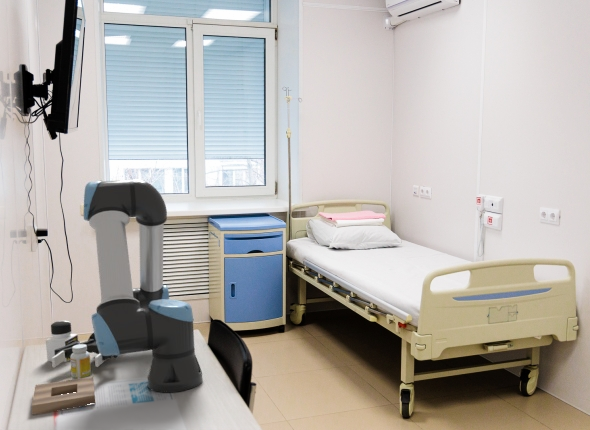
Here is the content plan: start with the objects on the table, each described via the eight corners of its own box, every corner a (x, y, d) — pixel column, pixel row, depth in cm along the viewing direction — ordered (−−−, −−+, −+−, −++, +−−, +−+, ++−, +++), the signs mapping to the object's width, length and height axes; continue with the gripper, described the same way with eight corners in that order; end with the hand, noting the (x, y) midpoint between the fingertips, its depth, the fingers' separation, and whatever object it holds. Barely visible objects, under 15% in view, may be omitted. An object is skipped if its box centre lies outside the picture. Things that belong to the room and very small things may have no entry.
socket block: (95, 404, 154) (94, 395, 154) (32, 415, 149) (31, 405, 149) (93, 384, 168) (93, 376, 168) (36, 393, 163) (35, 385, 163)
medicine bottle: (67, 362, 189) (64, 325, 188) (46, 361, 190) (44, 325, 189) (79, 355, 196) (76, 319, 195) (60, 354, 197) (57, 319, 196)
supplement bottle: (69, 382, 171) (67, 349, 170) (74, 375, 176) (72, 344, 176) (88, 380, 172) (86, 348, 171) (93, 374, 177) (91, 342, 176)
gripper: (141, 350, 191) (117, 374, 169) (68, 351, 193) (34, 375, 171) (140, 327, 190) (115, 348, 169) (66, 328, 192) (32, 350, 170)
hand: (74, 362), depth 170 cm, fingers open, 12 cm apart
